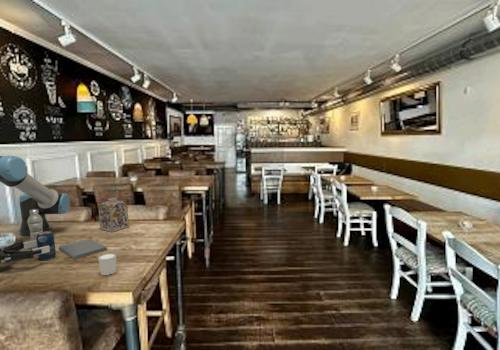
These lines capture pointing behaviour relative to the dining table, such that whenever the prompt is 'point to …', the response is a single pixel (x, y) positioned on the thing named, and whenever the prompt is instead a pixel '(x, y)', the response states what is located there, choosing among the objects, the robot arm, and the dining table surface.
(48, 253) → the soda can
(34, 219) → the plastic bottle
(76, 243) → the slate board
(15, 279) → the dining table surface
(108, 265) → the white short cylinder
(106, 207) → the decorative jar
